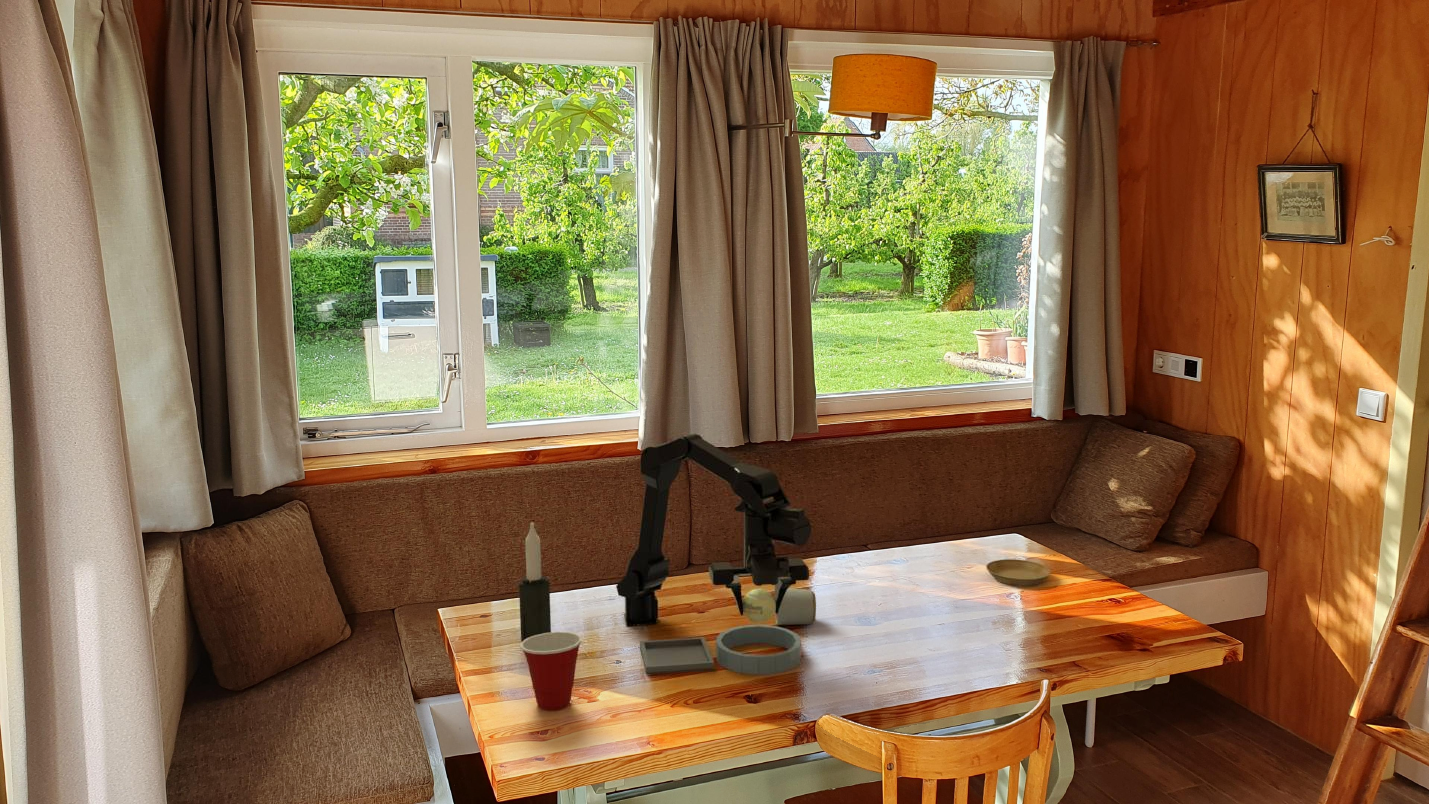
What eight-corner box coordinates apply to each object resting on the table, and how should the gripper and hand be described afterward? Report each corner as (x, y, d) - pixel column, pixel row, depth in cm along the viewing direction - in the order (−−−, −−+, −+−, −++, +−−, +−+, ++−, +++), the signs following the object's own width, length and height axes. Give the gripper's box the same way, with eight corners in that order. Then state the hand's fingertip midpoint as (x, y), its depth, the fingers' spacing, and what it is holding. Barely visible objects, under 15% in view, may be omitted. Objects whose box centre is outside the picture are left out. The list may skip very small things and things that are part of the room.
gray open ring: (724, 677, 205) (724, 659, 205) (710, 644, 221) (710, 627, 221) (809, 671, 208) (809, 653, 207) (790, 638, 224) (790, 622, 223)
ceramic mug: (817, 628, 229) (817, 593, 228) (778, 630, 229) (778, 594, 228) (809, 612, 240) (810, 578, 239) (772, 613, 239) (772, 578, 238)
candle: (553, 638, 225) (549, 520, 221) (541, 647, 220) (537, 526, 216) (531, 635, 227) (527, 518, 223) (519, 644, 222) (514, 524, 218)
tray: (646, 674, 207) (646, 667, 206) (639, 648, 219) (639, 641, 219) (714, 669, 209) (714, 662, 208) (704, 644, 221) (704, 637, 221)
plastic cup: (562, 685, 202) (560, 623, 200) (595, 704, 194) (594, 640, 192) (510, 702, 195) (508, 638, 193) (543, 723, 187) (541, 656, 185)
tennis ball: (736, 588, 211) (767, 594, 208) (753, 583, 217) (783, 588, 214) (734, 621, 212) (764, 627, 208) (751, 615, 217) (781, 621, 214)
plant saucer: (1060, 578, 261) (1061, 567, 261) (1033, 593, 250) (1033, 582, 250) (1003, 565, 271) (1003, 555, 270) (974, 580, 260) (974, 569, 259)
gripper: (717, 551, 201) (718, 632, 204) (816, 546, 204) (815, 625, 207) (708, 534, 212) (708, 611, 215) (802, 529, 215) (801, 605, 217)
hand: (758, 613), depth 213 cm, fingers closed on tennis ball, 6 cm apart
